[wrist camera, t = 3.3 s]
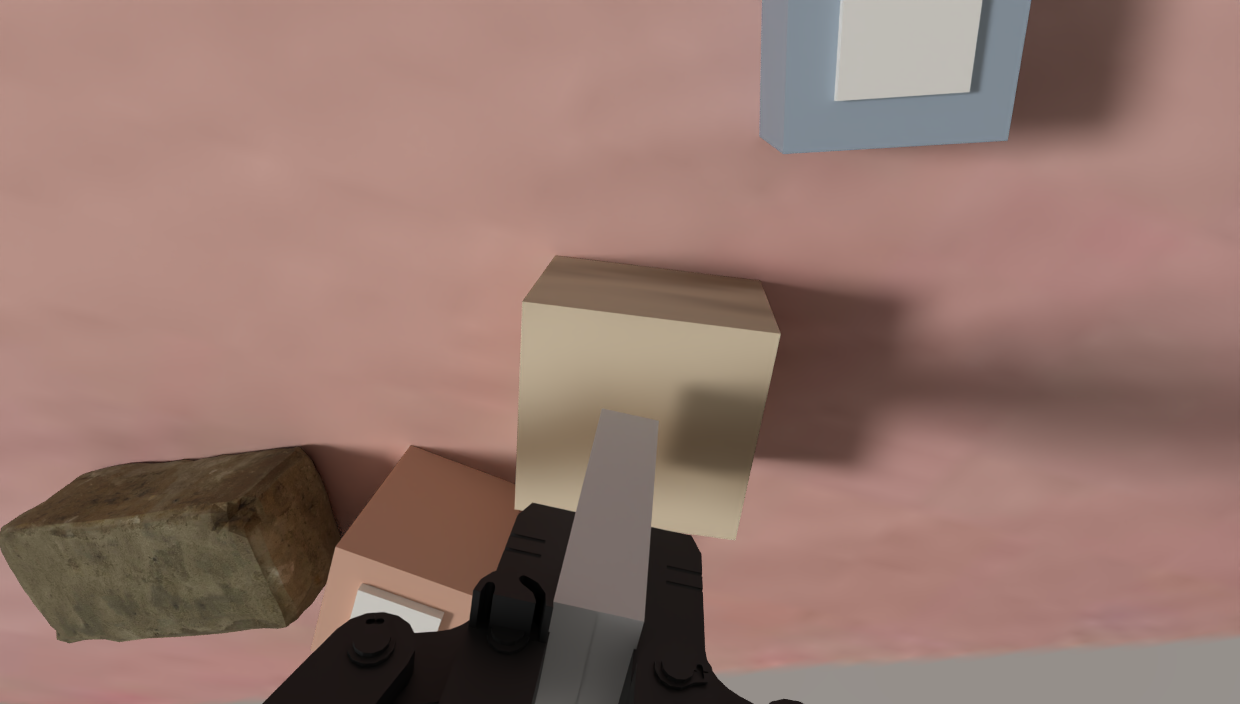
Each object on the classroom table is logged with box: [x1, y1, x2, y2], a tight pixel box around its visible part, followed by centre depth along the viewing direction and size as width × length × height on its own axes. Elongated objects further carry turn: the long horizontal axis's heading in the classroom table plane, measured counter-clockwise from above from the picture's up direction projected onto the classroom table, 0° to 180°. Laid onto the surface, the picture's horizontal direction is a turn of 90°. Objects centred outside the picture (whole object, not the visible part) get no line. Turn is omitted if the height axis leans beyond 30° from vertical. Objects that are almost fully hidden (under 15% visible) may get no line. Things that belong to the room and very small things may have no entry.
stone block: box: [0, 447, 341, 643], centre depth 25 cm, size 6×12×5 cm, turn 101°
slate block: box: [759, 0, 1031, 154], centre depth 16 cm, size 5×5×5 cm
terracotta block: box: [311, 445, 520, 651], centre depth 23 cm, size 5×5×6 cm
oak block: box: [515, 256, 781, 540], centre depth 21 cm, size 7×7×5 cm
